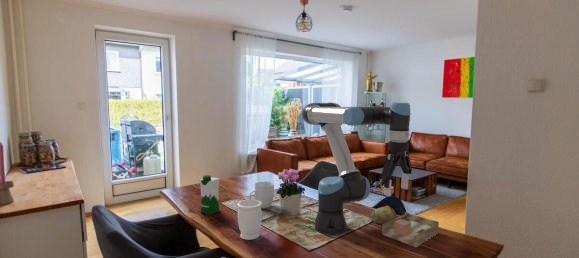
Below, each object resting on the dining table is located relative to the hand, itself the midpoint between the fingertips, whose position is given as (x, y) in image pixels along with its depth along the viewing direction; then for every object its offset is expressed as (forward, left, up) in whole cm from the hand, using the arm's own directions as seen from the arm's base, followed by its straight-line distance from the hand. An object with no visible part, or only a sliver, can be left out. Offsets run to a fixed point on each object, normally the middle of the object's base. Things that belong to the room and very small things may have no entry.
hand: (396, 191), depth 126 cm
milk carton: (-85, -42, -23) cm, 97 cm away
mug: (-73, -16, -23) cm, 78 cm away
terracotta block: (-1, +7, -20) cm, 21 cm away
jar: (-46, -42, -23) cm, 66 cm away
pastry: (-16, +18, -23) cm, 33 cm away
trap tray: (-1, +14, -22) cm, 26 cm away
